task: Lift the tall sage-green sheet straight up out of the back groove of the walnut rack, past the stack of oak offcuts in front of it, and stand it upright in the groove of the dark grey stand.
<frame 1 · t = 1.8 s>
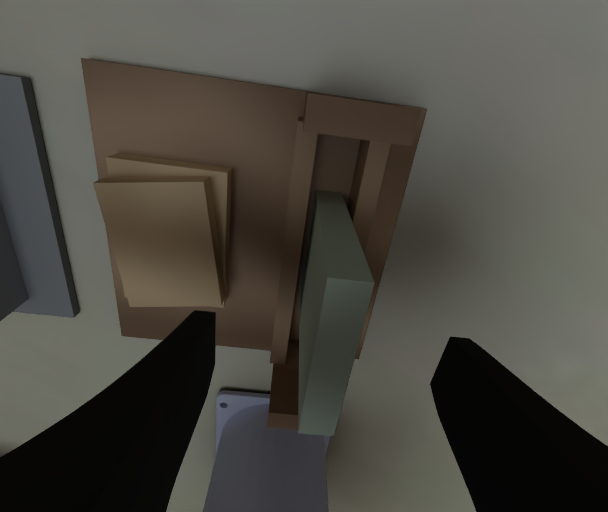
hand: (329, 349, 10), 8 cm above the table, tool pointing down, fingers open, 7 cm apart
sheet: (319, 249, 17), resting on rack
offcut lower: (178, 232, 16), resting on rack, touching offcut upper
offcut upper: (171, 240, 15), point 1 cm above the table, touching offcut lower
rack: (260, 238, 17), on the table
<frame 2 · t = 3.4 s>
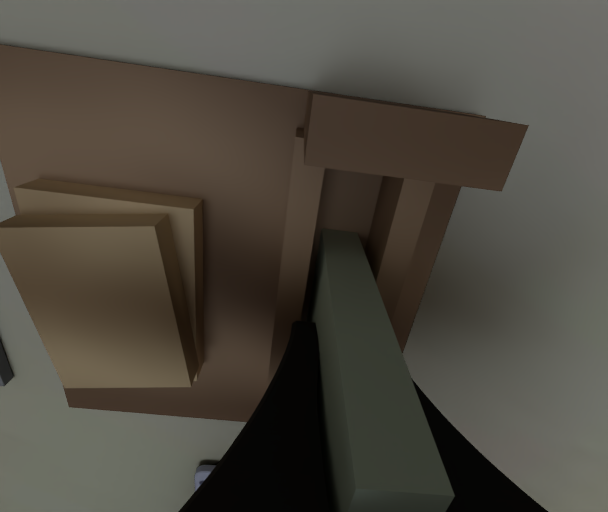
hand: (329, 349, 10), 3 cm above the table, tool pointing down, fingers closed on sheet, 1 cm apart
sheet: (325, 304, 12), resting on rack, touching gripper
offcut lower: (133, 283, 12), resting on rack, touching offcut upper
offcut upper: (119, 299, 11), point 1 cm above the table, touching offcut lower
rack: (246, 288, 13), on the table
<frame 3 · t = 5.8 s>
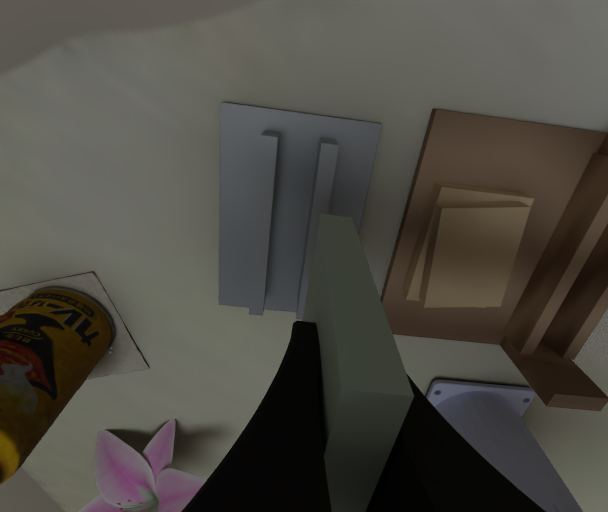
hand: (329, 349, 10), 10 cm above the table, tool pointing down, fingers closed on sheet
sheet: (323, 282, 14), point 6 cm above the table, touching gripper
offcut lower: (458, 245, 20), resting on rack, touching offcut upper
offcut upper: (465, 252, 19), point 1 cm above the table, touching offcut lower
lily: (163, 446, 29), on the table
stand: (290, 222, 20), on the table
condiment: (78, 329, 24), on the table
rack: (517, 249, 20), on the table
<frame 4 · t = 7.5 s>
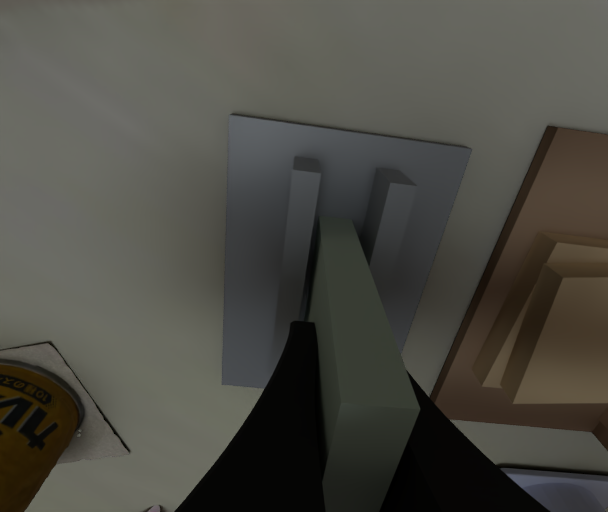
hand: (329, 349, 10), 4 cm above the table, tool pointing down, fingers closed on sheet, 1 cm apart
sheet: (323, 287, 13), resting on stand, touching gripper
offcut lower: (557, 314, 14), resting on rack, touching offcut upper
offcut upper: (575, 329, 13), point 1 cm above the table, touching offcut lower
stand: (323, 281, 14), on the table
condiment: (35, 408, 18), on the table
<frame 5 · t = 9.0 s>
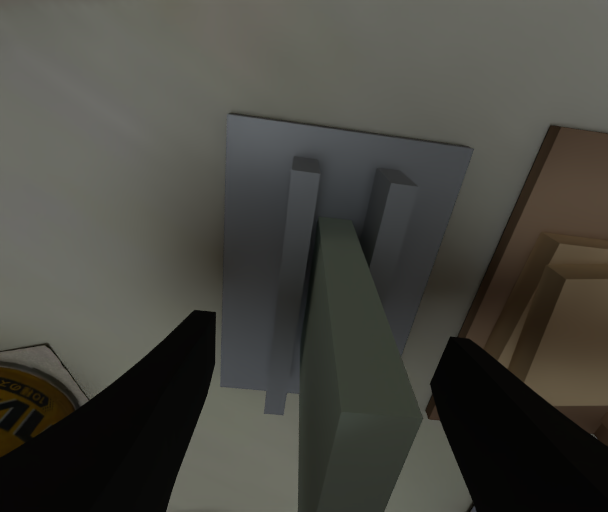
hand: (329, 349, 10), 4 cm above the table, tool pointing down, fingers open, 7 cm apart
sheet: (323, 288, 13), resting on stand
offcut lower: (559, 315, 14), resting on rack, touching offcut upper
offcut upper: (577, 331, 13), point 1 cm above the table, touching offcut lower
stand: (323, 283, 14), on the table
condiment: (32, 410, 18), on the table
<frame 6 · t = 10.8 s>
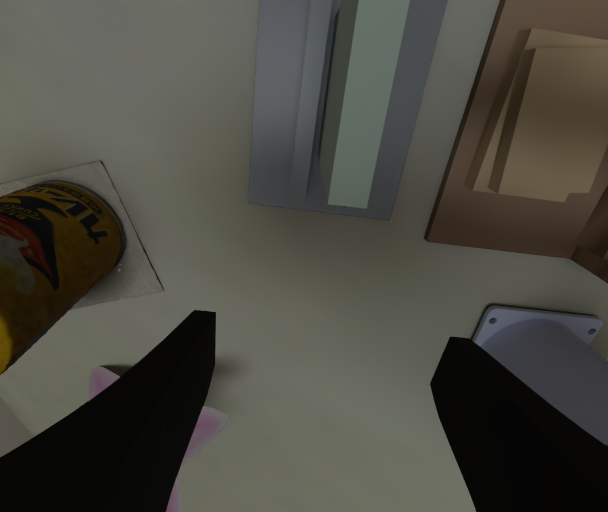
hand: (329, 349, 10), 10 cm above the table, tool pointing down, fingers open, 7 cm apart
sheet: (338, 92, 16), resting on stand
offcut lower: (536, 122, 17), resting on rack, touching offcut upper
offcut upper: (550, 124, 16), point 1 cm above the table, touching offcut lower
lily: (166, 387, 26), on the table
stand: (337, 93, 16), on the table
condiment: (82, 241, 20), on the table
rack: (603, 132, 17), on the table
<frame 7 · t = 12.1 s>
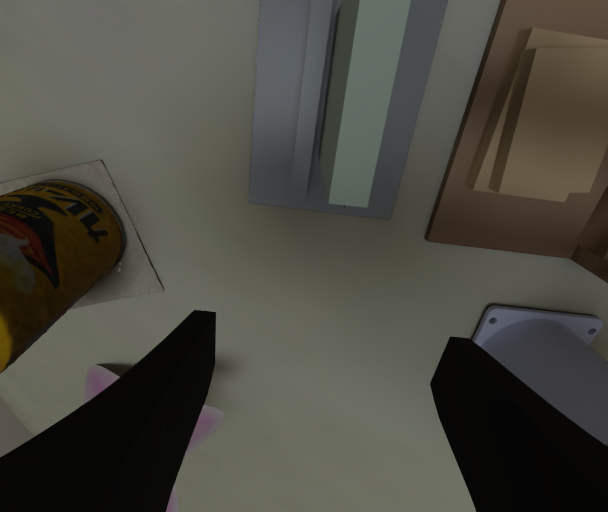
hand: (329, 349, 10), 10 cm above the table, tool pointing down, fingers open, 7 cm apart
sheet: (338, 92, 16), resting on stand
offcut lower: (537, 122, 17), resting on rack, touching offcut upper
offcut upper: (550, 124, 16), point 1 cm above the table, touching offcut lower
lily: (163, 385, 26), on the table
stand: (338, 93, 16), on the table
condiment: (82, 240, 20), on the table
rack: (604, 132, 17), on the table
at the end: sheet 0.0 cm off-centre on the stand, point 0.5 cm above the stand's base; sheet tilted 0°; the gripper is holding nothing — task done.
